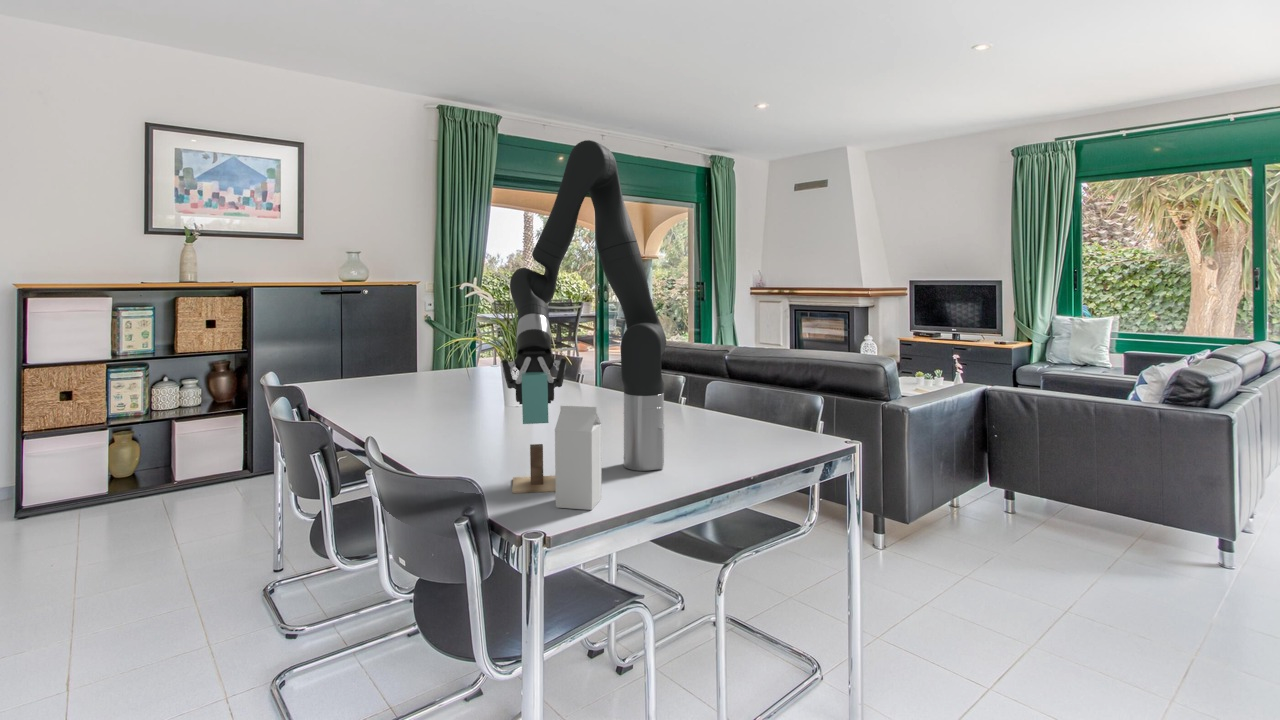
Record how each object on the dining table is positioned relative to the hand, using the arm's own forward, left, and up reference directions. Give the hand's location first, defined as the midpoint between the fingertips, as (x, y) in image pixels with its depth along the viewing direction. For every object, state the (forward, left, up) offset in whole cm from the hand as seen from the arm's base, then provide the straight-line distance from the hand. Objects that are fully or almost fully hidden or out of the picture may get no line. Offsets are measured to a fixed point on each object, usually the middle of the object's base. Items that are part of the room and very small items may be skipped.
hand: (535, 401), depth 137 cm
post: (0, -1, -18) cm, 18 cm away
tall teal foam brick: (0, -2, -4) cm, 5 cm away
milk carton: (-11, +10, -18) cm, 23 cm away
